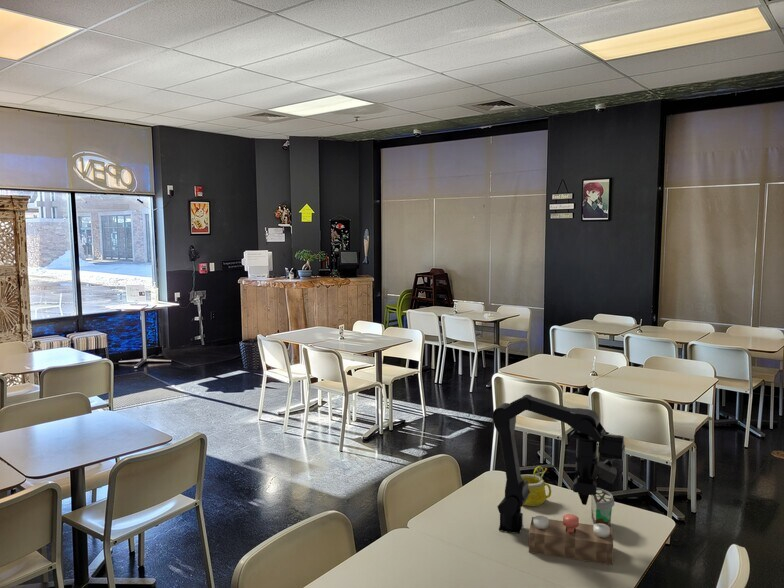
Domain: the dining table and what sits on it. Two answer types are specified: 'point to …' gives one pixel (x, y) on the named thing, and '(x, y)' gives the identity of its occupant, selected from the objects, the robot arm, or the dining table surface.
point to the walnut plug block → (571, 542)
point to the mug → (536, 488)
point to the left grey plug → (540, 522)
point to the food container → (602, 507)
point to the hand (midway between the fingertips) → (584, 504)
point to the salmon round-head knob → (570, 522)
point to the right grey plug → (601, 530)
